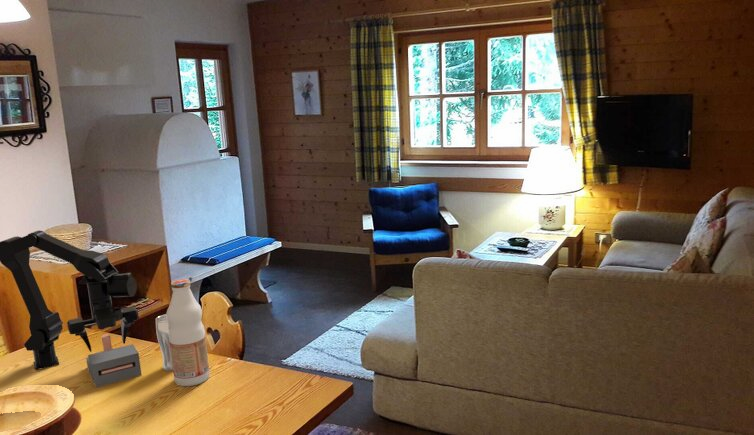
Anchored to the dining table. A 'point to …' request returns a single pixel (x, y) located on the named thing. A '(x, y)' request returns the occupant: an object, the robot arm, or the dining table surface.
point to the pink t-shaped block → (108, 346)
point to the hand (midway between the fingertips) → (107, 347)
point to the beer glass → (164, 341)
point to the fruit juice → (187, 336)
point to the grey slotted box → (111, 360)
